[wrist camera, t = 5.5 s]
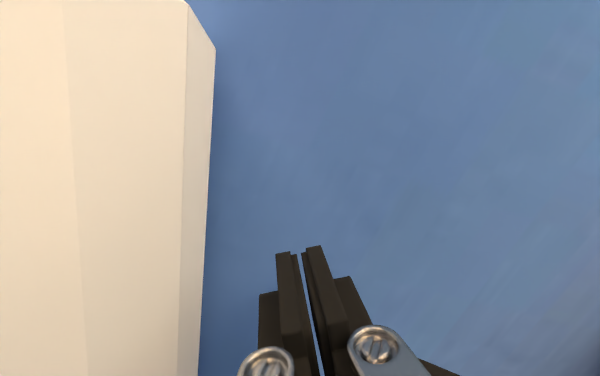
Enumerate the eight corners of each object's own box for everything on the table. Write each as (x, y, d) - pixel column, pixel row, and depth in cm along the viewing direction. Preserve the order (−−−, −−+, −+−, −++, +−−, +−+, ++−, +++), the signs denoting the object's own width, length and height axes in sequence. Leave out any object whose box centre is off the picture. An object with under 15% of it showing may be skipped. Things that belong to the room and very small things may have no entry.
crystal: (218, 571, 14) (283, -60, 7) (-5, 757, 10) (-364, -383, 3) (172, 425, 19) (184, -6, 13) (18, 501, 15) (-86, -89, 8)
